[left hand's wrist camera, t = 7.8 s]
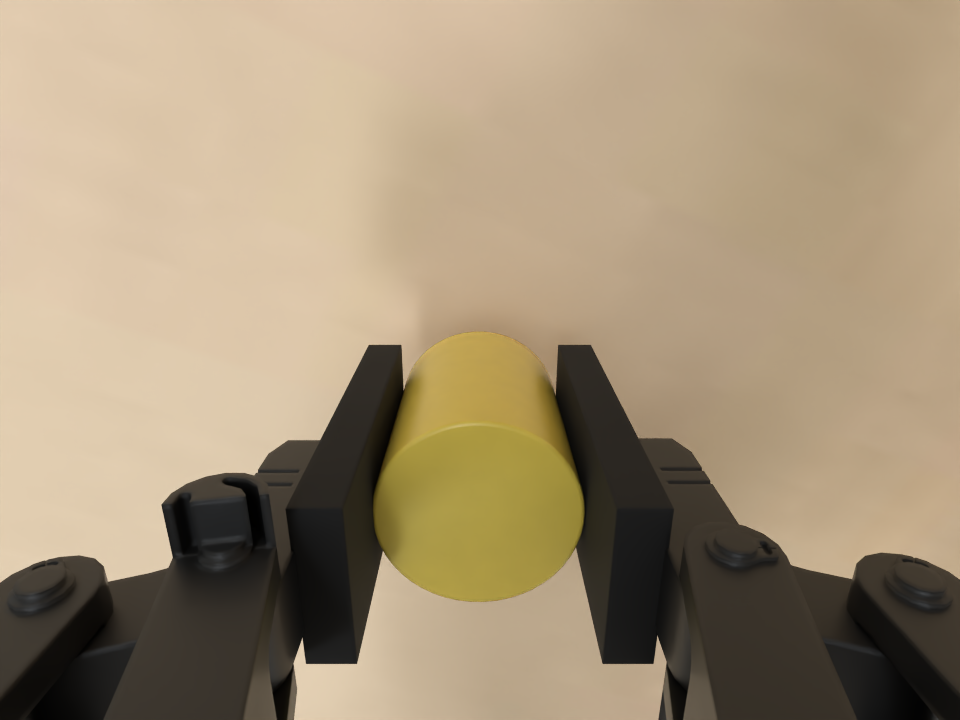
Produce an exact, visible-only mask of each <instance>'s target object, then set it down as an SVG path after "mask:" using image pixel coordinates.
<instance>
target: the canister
mask: <svg viewBox="0 0 960 720" xmlns="http://www.w3.org/2000/svg"><path fill="white" fill-rule="evenodd" d="M373 516H374V528H375V533H376V536H377V539H378V541H379V544H380V546H381V548H382V549H383V551H384V553H385V555H386V556H387V558H388V559H389V560H390V562H391V563H392V564H393V565H394V567H395V568H396V569H397V570H398V571H399V572H400V573H401V574H403V575H404V576H405V577H406V578H408V579H409V580H410V581H411V582H413V583H415V584H416V585H418V586H419V587H421V588H423V589H425V590H427V591H429V592H432V593H434V594H437V595H440V596H443V597H446V598H450V599H455V600H461V601H469V602H487V601H497V600H502V599H507V598H511V597H514V596H517V595H520V594H523V593H525V592H528V591H530V590H532V589H534V588H536V587H537V586H539V585H541V584H543V583H544V582H546V581H547V580H548V579H549V578H551V577H552V576H553V575H555V574H556V573H557V572H558V571H559V570H560V569H561V568H562V567H563V565H564V564H565V563H566V562H567V560H568V559H569V558H570V556H571V555H572V553H573V551H574V549H575V548H576V546H577V543H578V541H579V538H580V536H581V533H582V529H583V525H584V517H585V503H584V496H583V491H582V487H581V483H580V480H579V476H578V473H577V470H576V466H575V463H574V459H573V456H572V452H571V449H570V445H569V442H568V438H567V435H566V431H565V428H564V424H563V421H562V417H561V414H560V410H559V407H558V403H557V400H556V396H555V393H554V389H553V386H552V382H551V379H550V377H549V374H548V372H547V370H546V369H545V367H544V365H543V364H542V362H541V361H540V360H539V358H538V357H537V356H536V355H535V354H534V353H533V352H532V351H531V350H529V349H528V348H527V347H526V346H524V345H523V344H521V343H519V342H518V341H516V340H514V339H512V338H509V337H507V336H504V335H500V334H496V333H490V332H467V333H462V334H458V335H454V336H451V337H449V338H446V339H444V340H442V341H440V342H438V343H437V344H435V345H434V346H432V347H431V348H430V349H428V350H427V351H426V352H425V353H424V354H423V355H422V356H421V357H420V358H419V360H418V361H417V362H416V363H415V365H414V367H413V368H412V370H411V372H410V374H409V376H408V379H407V382H406V385H405V389H404V392H403V395H402V399H401V402H400V405H399V409H398V412H397V416H396V419H395V422H394V426H393V429H392V433H391V436H390V439H389V443H388V446H387V449H386V453H385V456H384V460H383V463H382V466H381V470H380V473H379V476H378V480H377V483H376V487H375V491H374V495H373Z"/></svg>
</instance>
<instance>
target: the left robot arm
mask: <svg viewBox="0 0 960 720" xmlns="http://www.w3.org/2000/svg"><path fill="white" fill-rule="evenodd" d="M403 392H404V390H403V369H402V348H401V345H369V346H368V348H367V350H366V352H365V354H364V356H363V358H362V360H361V362H360V364H359V366H358V367H357V369H356V371H355V373H354V375H353V377H352V379H351V381H350V383H349V385H348V387H347V389H346V391H345V393H344V395H343V397H342V399H341V401H340V403H339V405H338V407H337V409H336V411H335V413H334V415H333V416H332V418H331V420H330V422H329V424H328V426H327V428H326V430H325V432H324V434H323V436H322V438H321V440H288V441H287V442H285V443H284V444H282V445H281V446H279V447H278V448H276V449H275V450H274V451H272V452H271V453H269V454H268V455H267V457H266V459H265V460H264V462H263V463H262V465H261V466H260V468H259V469H258V473H256V474H255V475H254V476H253V475H250V474H246V473H223V474H218V475H212V476H207V477H204V478H201V479H198V480H196V481H193V482H190V483H188V484H186V485H184V486H183V487H181V488H179V489H178V490H176V491H175V492H173V493H171V494H170V496H169V497H168V498H167V499H166V500H165V501H164V502H163V504H162V509H163V514H164V519H165V523H166V528H167V532H168V537H169V542H170V546H171V551H172V555H173V559H172V561H171V563H170V566H169V568H167V569H163V570H160V571H156V572H152V573H148V574H144V575H139V576H134V577H129V578H125V579H120V580H115V581H110V582H108V581H107V577H106V573H105V570H104V566H103V565H101V564H100V563H99V562H98V561H97V560H96V559H94V558H89V557H84V556H68V557H58V558H54V559H49V560H47V561H42V562H39V563H36V564H33V565H31V566H29V567H27V568H25V569H23V570H21V571H19V572H17V573H14V574H12V575H11V576H9V577H8V578H6V579H5V580H4V581H2V582H1V583H0V720H294V713H295V704H296V694H297V686H296V679H295V672H294V665H293V663H294V660H295V657H296V654H297V651H298V649H299V646H300V643H301V640H302V637H303V644H304V652H305V659H306V664H357V661H358V657H359V653H360V648H361V644H362V640H363V635H364V631H365V626H366V622H367V618H368V613H369V609H370V605H371V600H372V596H373V591H374V587H375V583H376V578H377V574H378V570H379V565H380V561H381V557H382V552H383V549H382V548H381V546H380V544H379V541H378V539H377V536H376V533H375V528H374V516H373V495H374V491H375V487H376V483H377V480H378V476H379V473H380V470H381V466H382V463H383V460H384V456H385V453H386V449H387V446H388V443H389V439H390V436H391V433H392V429H393V426H394V422H395V419H396V416H397V412H398V409H399V405H400V402H401V399H402V395H403ZM556 400H557V403H558V407H559V410H560V414H561V417H562V421H563V424H564V428H565V431H566V435H567V438H568V442H569V445H570V449H571V452H572V456H573V459H574V463H575V466H576V470H577V473H578V476H579V480H580V483H581V487H582V491H583V496H584V503H585V517H584V525H583V529H582V533H581V536H580V538H579V541H578V543H577V546H576V549H577V554H578V558H579V563H580V567H581V571H582V576H583V580H584V584H585V589H586V593H587V598H588V602H589V606H590V611H591V615H592V619H593V624H594V628H595V633H596V637H597V641H598V646H599V650H600V654H601V659H602V663H603V664H653V663H654V656H655V648H656V641H657V635H658V638H659V641H660V644H661V647H662V650H663V652H664V655H665V658H666V661H667V665H666V672H665V678H664V685H663V692H662V699H661V706H660V713H659V720H960V579H958V578H957V577H955V576H954V575H952V574H951V573H950V572H948V571H946V570H944V569H941V568H939V567H937V566H935V565H933V564H931V563H929V562H927V561H924V560H921V559H918V558H913V557H911V556H906V555H901V554H890V553H878V554H872V555H867V556H865V557H864V558H862V559H861V560H860V561H859V562H858V563H857V564H856V568H855V571H854V575H853V579H848V578H843V577H838V576H834V575H829V574H824V573H819V572H814V571H810V570H806V569H802V568H799V567H795V566H792V565H790V562H789V560H788V558H787V556H786V555H785V553H784V552H783V551H782V549H781V548H780V547H779V545H778V544H777V543H775V542H774V541H772V540H771V539H770V538H768V537H767V536H766V535H764V534H762V533H760V532H758V531H755V530H753V529H751V528H748V527H746V526H743V525H739V524H738V523H737V521H736V520H735V518H734V516H733V515H732V513H731V512H730V510H729V509H728V507H727V506H726V504H725V503H724V501H723V500H722V498H721V497H720V495H719V493H718V492H717V490H716V489H715V487H714V486H713V484H710V480H709V478H708V477H707V475H706V474H705V472H704V471H702V467H701V466H700V464H699V463H698V461H697V460H696V458H695V457H694V455H693V454H692V452H691V451H689V450H688V449H686V448H685V447H683V446H682V445H680V444H679V443H678V442H676V441H675V440H673V439H638V437H637V435H636V433H635V431H634V429H633V427H632V425H631V423H630V421H629V419H628V417H627V415H626V413H625V411H624V409H623V407H622V406H621V404H620V402H619V400H618V398H617V396H616V394H615V392H614V390H613V388H612V386H611V384H610V382H609V380H608V378H607V376H606V374H605V372H604V370H603V368H602V366H601V364H600V362H599V360H598V358H597V357H596V355H595V353H594V351H593V349H592V347H591V345H558V361H557V382H556Z"/></svg>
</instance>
